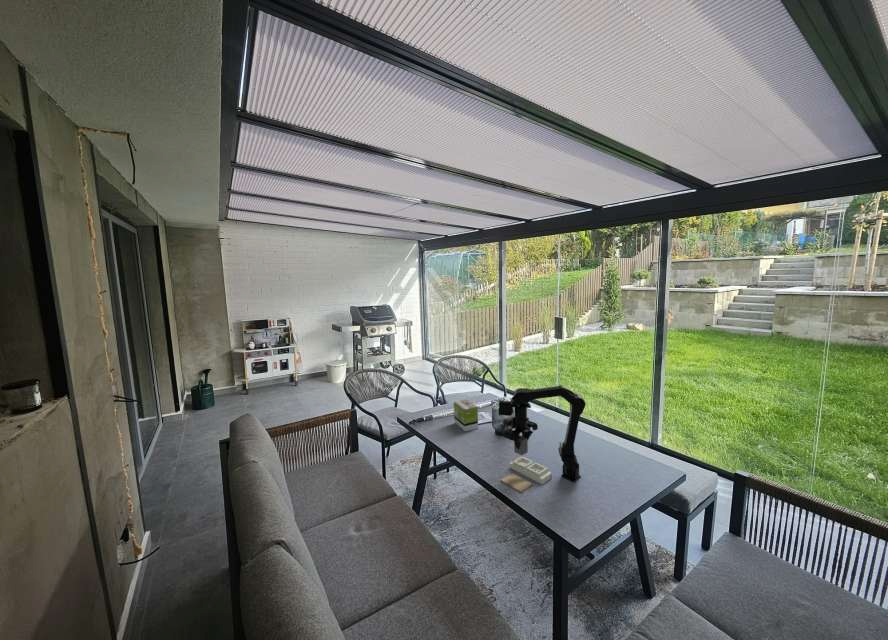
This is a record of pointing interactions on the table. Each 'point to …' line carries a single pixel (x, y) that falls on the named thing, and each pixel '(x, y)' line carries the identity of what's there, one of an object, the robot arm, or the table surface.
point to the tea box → (466, 415)
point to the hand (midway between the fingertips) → (520, 447)
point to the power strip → (531, 469)
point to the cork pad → (516, 482)
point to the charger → (522, 446)
